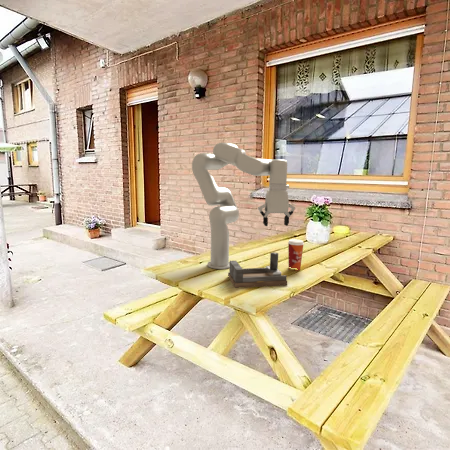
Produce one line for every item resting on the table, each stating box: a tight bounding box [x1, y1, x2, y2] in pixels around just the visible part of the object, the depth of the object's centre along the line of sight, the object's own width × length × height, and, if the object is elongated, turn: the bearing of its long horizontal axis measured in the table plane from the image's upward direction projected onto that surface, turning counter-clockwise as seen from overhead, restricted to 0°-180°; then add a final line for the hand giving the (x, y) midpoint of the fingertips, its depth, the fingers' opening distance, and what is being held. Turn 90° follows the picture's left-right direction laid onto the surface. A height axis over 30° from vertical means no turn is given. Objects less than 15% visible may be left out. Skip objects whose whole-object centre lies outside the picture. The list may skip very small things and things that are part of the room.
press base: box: [227, 260, 288, 289], centre depth 154 cm, size 15×24×8 cm, turn 101°
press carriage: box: [265, 252, 282, 276], centre depth 155 cm, size 10×4×10 cm, turn 11°
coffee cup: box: [287, 238, 305, 271], centre depth 173 cm, size 8×8×15 cm
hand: (275, 225), depth 152 cm, fingers open, 9 cm apart
